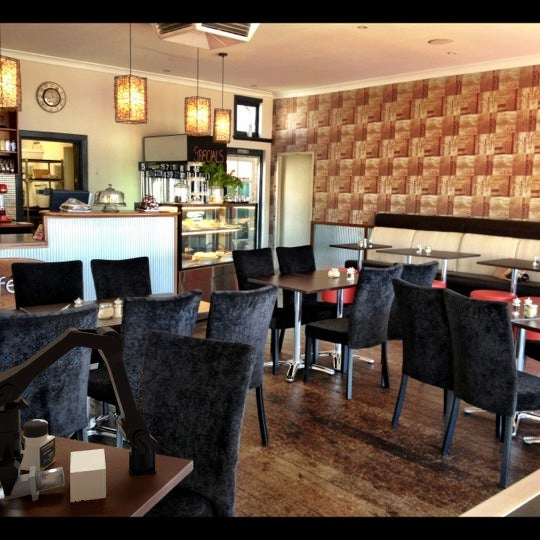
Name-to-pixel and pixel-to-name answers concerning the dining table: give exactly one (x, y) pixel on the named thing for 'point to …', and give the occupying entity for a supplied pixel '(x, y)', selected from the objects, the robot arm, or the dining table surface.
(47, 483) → the grey flanged bar
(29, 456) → the medicine bottle
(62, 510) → the dining table surface
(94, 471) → the block
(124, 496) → the dining table surface
